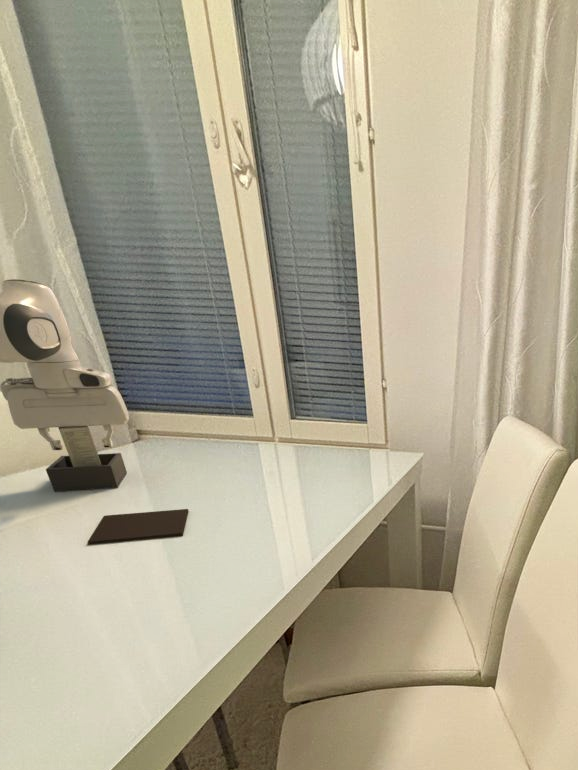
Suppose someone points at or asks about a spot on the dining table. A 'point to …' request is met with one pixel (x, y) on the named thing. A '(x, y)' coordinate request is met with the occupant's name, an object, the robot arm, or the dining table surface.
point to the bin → (87, 474)
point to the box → (80, 446)
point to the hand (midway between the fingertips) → (83, 448)
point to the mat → (139, 526)
